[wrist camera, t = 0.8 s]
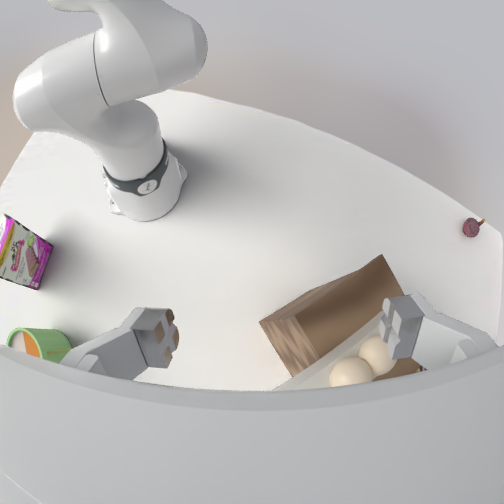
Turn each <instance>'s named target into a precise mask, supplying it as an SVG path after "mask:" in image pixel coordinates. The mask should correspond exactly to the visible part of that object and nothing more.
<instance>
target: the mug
mask: <svg viewBox="0 0 504 504" xmlns="http://www.w3.org/2000/svg"><path fill="white" fill-rule="evenodd" d="M6 346H9V347H11V348H14V349H16V350H18V351H21V352H24V353H27V354H30V355H32V356H35V357H38V358H41V359H44V360H48V361H51V362H54V363H57V364H59V362H60V361H61V360H62V359H63V358H64V357H65V355H66V354H67V353H68V352H69V351H70V350H71V349H72V347H71V344H70V342H69V340H68V339H67V338H66V336H65V335H64V334H63V333H61V332H60V331H57V330H51V329H33V328H16V329H14V330H13V331H12V332H11V333H10V334H9V336H8V339H7V343H6Z"/></svg>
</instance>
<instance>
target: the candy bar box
mask: <svg viewBox="0 0 504 504" xmlns="http://www.w3.org/2000/svg"><path fill="white" fill-rule="evenodd" d="M52 249H53V245H52V244H50V243H49V242H47V241H46V240H44V239H42V238H41V237H39V236H38V235H36V234H35V233H33V232H32V231H30V230H29V229H27V228H26V227H25V226H23V225H22V224H20V223H19V222H18V221H16V220H15V219H13V218H11V217H10V216H8V215H6V214H4V213H3V214H2V216H1V219H0V278H2V279H5V280H7V281H10V282H13V283H16V284H19V285H22V286H25V287H28V288H31V289H34V290H38V287H39V284H40V281H41V278H42V275H43V272H44V269H45V267H46V264H47V261H48V259H49V256H50V254H51V251H52Z"/></svg>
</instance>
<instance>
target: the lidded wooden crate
mask: <svg viewBox="0 0 504 504" xmlns="http://www.w3.org/2000/svg"><path fill="white" fill-rule="evenodd" d="M399 296H405V295H404V293H403V291H402V290H401V288H400V286H399V284H398V282H397V280H396V278H395V276H394V275H393V273H392V271H391V269H390V267H389V266H388V264H387V262H386V260H385V258H384V257H383V255H382V254H381V255H379V256H377V257H376V258H375V259H373V260H372V261H371V262H369V263H368V264H367V265H365V266H364V267H363V268H361V269H360V270H358V271H355V272H353V273H351V274H348V275H346V276H344V277H341V278H339V279H337V280H334V281H332V282H329V283H327V284H325V285H322V286H320V287H317V288H315V289H312V290H310V291H308V292H306V293H305V294H303V295H302V296H300V297H299V298H297V299H295V300H294V301H292V302H291V303H289V304H287V305H286V306H284V307H283V308H281V309H279V310H278V311H276V312H274V313H273V314H271V315H269V316H268V317H266V318H264V319H263V320H261V321H259V323H260V325H261V327H262V328H263V330H264V332H265V333H266V335H267V337H268V338H269V340H270V342H271V343H272V345H273V347H274V348H275V350H276V352H277V353H278V355H279V356H280V358H281V360H282V361H283V363H284V365H285V366H286V368H287V369H288V371H289V373H290V374H291V376H292V377H294V376H296V375H297V374H299V373H300V372H302V371H303V370H305V369H306V368H308V367H309V366H311V365H312V364H313V363H315V362H316V361H318V360H319V359H321V358H322V357H323V356H325V355H326V354H328V353H329V352H330V351H332V350H333V349H334V348H336V347H337V346H338V345H340V344H341V343H342V342H344V341H345V340H346V339H348V338H349V337H350V336H351V335H353V334H354V333H355V332H357V331H358V330H359V329H360V328H362V327H363V326H364V325H365V324H366V323H368V322H369V321H370V320H371V319H373V318H374V317H375V316H376V315H377V314H378V313H380V312H381V311H383V309H382V307H383V302H384V299H386V298H392V297H399ZM420 366H421V365H420V364H419V363H418V362H416V361H415V360H414V359H412V358H411V357H407V358H401V359H397V362H396V364H395V365H394V367H393V368H392V369H391V370H390V371H389V372H387V373H385V374H383V375H378V376H377V377H376V378H374V379H373V380H372V382H373V381H378V380H384V379H390V378H395V377H400V376H404V375H409V374H414V373H415V372H416V371H417V370H418V369H419V368H420Z"/></svg>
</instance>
